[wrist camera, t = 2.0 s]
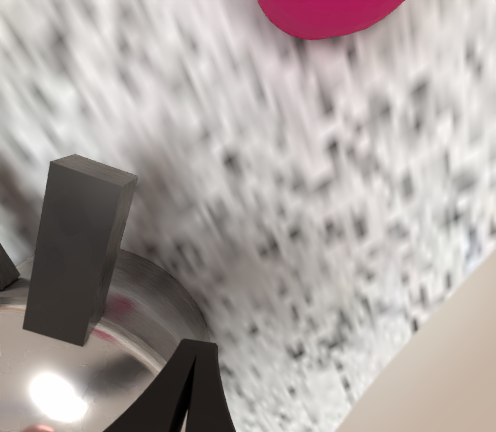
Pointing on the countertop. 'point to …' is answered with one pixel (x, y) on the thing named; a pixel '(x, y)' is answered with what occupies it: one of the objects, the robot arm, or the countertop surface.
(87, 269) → the cooker lid
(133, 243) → the countertop surface
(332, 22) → the pepper mill
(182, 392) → the robot arm
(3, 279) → the cooker pot
